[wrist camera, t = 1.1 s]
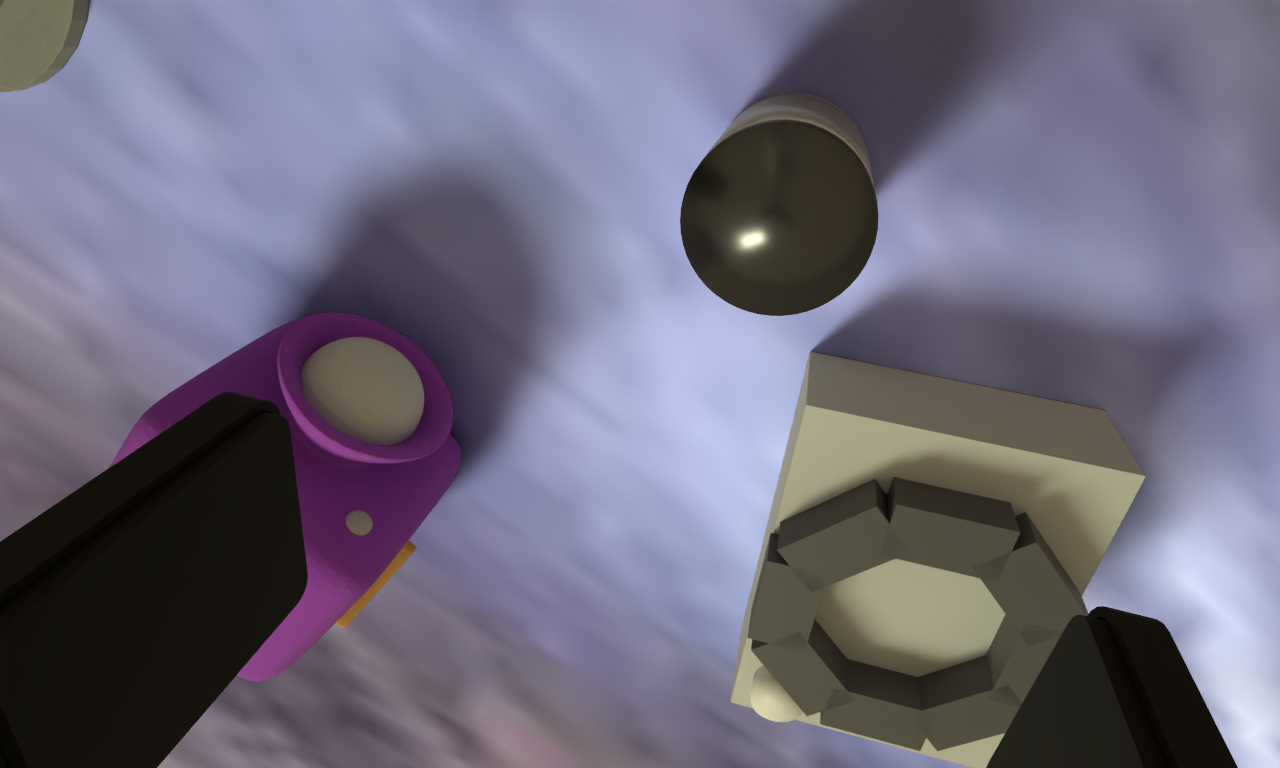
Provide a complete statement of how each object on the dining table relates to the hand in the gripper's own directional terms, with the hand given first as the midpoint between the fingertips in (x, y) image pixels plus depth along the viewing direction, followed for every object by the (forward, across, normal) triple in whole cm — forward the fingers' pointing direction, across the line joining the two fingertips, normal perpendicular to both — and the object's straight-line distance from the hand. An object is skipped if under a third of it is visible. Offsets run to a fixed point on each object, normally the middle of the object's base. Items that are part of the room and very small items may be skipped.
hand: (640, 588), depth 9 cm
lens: (+19, -1, -1) cm, 19 cm away
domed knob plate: (+19, -8, +12) cm, 23 cm away
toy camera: (+19, +15, +12) cm, 27 cm away
